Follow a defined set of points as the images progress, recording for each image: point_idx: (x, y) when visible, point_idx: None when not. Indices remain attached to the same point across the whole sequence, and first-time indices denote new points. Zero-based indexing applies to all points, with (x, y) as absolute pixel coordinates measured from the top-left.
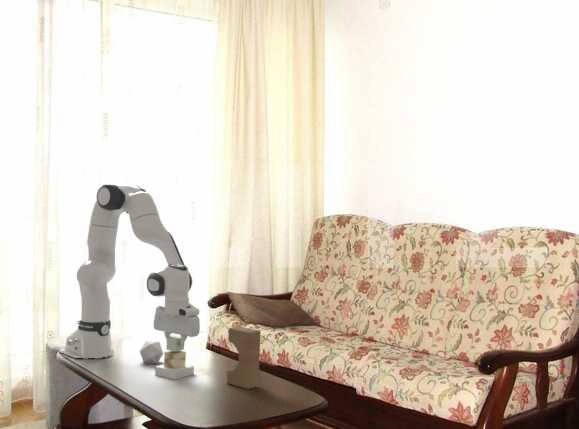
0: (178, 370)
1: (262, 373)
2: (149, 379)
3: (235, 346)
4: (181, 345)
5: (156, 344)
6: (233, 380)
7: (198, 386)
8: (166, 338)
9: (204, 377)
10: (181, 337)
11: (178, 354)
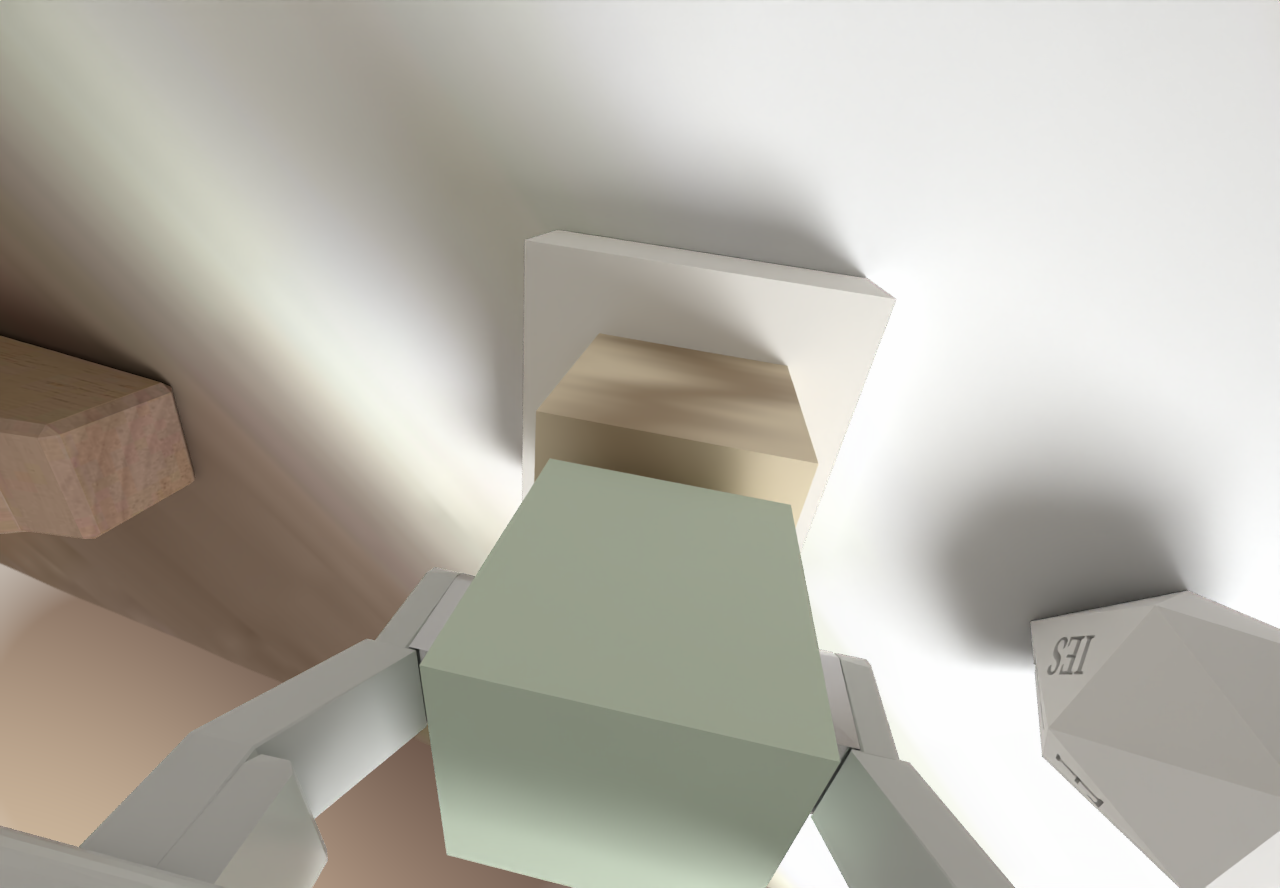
0: (524, 300)
1: (262, 667)
2: (824, 19)
3: None
4: (423, 590)
5: (1198, 831)
6: (51, 374)
7: (210, 143)
8: (909, 781)
9: (416, 443)
10: (248, 764)
11: (541, 469)
